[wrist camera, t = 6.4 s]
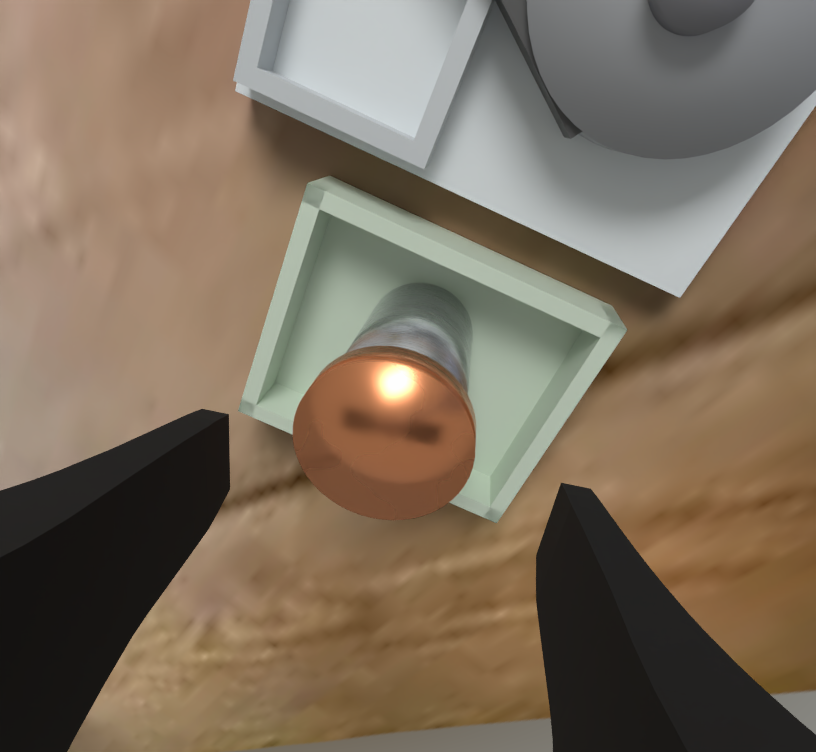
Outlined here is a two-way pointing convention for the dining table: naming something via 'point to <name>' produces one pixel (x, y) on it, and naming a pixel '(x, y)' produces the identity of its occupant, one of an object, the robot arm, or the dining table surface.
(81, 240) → the dining table surface
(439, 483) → the pin
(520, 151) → the pulley board
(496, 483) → the tray
